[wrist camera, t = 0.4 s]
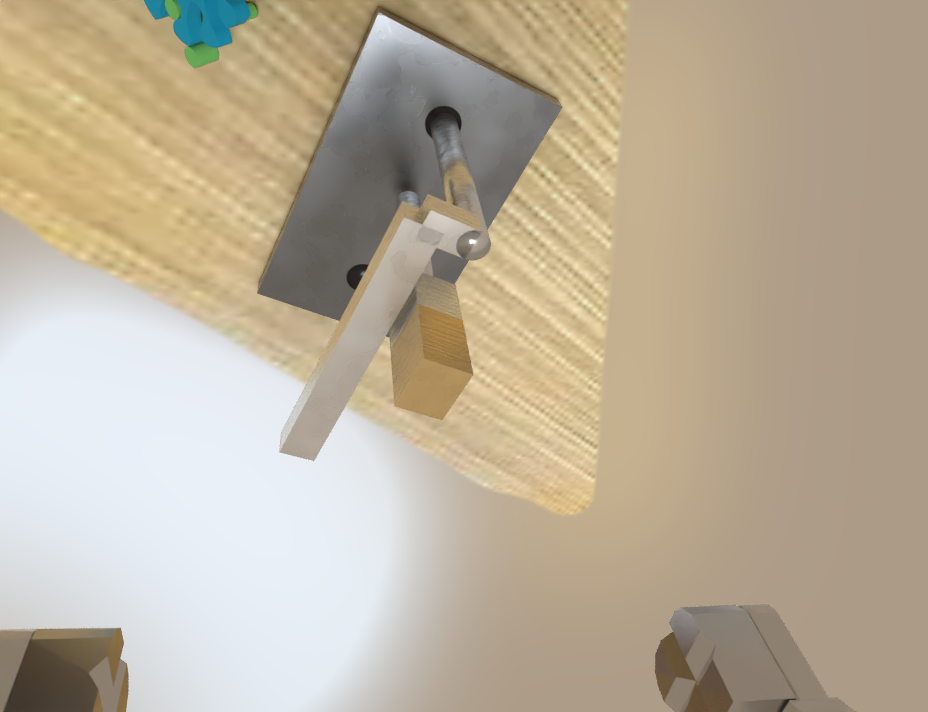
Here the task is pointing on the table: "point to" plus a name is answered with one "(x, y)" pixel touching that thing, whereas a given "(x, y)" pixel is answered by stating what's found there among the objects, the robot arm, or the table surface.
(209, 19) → the gear
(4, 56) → the table surface
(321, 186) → the bolt plate
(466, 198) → the divider frame
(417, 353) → the leg
